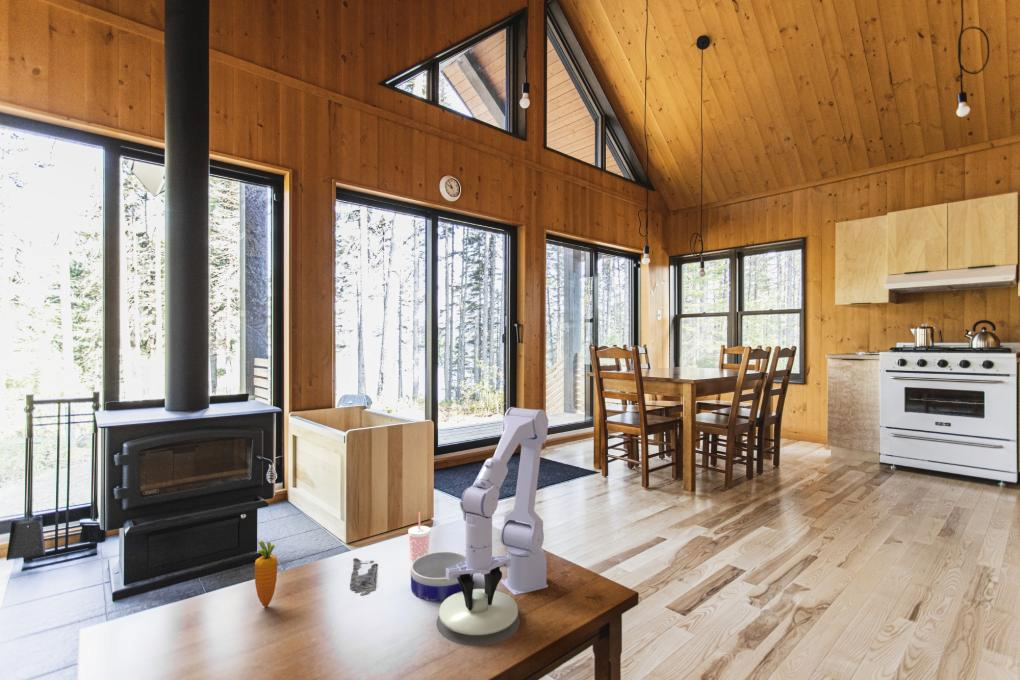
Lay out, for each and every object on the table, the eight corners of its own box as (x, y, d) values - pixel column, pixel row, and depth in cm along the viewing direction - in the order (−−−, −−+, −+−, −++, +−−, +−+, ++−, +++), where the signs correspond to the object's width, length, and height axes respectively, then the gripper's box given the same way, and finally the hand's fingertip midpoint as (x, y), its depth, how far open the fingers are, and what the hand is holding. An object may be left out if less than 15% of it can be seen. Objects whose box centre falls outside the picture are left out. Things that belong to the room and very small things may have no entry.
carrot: (281, 606, 115) (282, 541, 115) (258, 615, 111) (259, 547, 111) (272, 599, 118) (273, 535, 118) (250, 607, 114) (250, 541, 114)
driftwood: (375, 598, 120) (375, 589, 120) (345, 601, 118) (345, 592, 118) (378, 562, 140) (378, 554, 140) (353, 564, 139) (353, 556, 139)
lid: (497, 586, 121) (497, 572, 121) (532, 622, 105) (532, 606, 105) (428, 602, 113) (428, 587, 113) (455, 643, 98) (455, 627, 98)
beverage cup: (405, 560, 139) (405, 509, 139) (426, 556, 142) (426, 506, 142) (411, 569, 134) (411, 516, 134) (433, 564, 137) (433, 513, 137)
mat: (497, 594, 121) (497, 592, 121) (534, 633, 105) (535, 631, 105) (425, 611, 113) (425, 610, 113) (453, 657, 97) (453, 655, 97)
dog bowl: (463, 607, 115) (463, 581, 115) (400, 600, 118) (400, 575, 118) (479, 576, 130) (479, 553, 130) (423, 571, 133) (423, 548, 133)
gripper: (454, 556, 102) (453, 623, 102) (517, 543, 109) (516, 606, 109) (442, 543, 109) (442, 606, 109) (502, 532, 115) (502, 591, 115)
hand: (478, 605), depth 109 cm, fingers closed on lid, 4 cm apart
